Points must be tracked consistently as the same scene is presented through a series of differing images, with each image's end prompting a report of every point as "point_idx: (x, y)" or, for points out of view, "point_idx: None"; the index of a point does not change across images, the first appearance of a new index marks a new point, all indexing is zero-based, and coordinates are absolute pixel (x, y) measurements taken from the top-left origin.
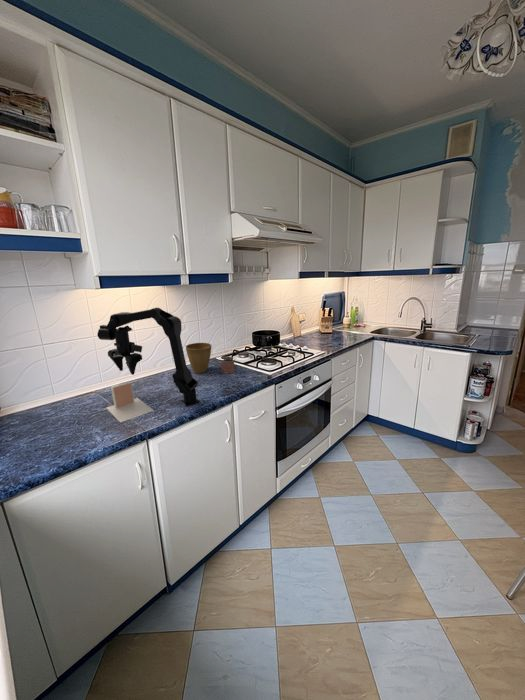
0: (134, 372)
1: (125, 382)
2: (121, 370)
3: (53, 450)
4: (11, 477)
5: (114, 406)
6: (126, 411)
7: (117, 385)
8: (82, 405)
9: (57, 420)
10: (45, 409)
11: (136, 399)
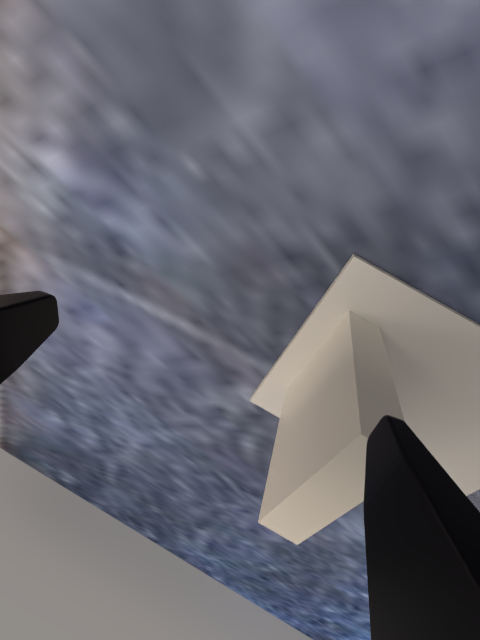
0: (426, 450)
1: (339, 467)
2: (52, 316)
3: (311, 586)
4: (310, 632)
5: (287, 391)
6: None
7: (309, 519)
8: (116, 377)
9: (157, 472)
10: (40, 414)
11: (364, 283)
